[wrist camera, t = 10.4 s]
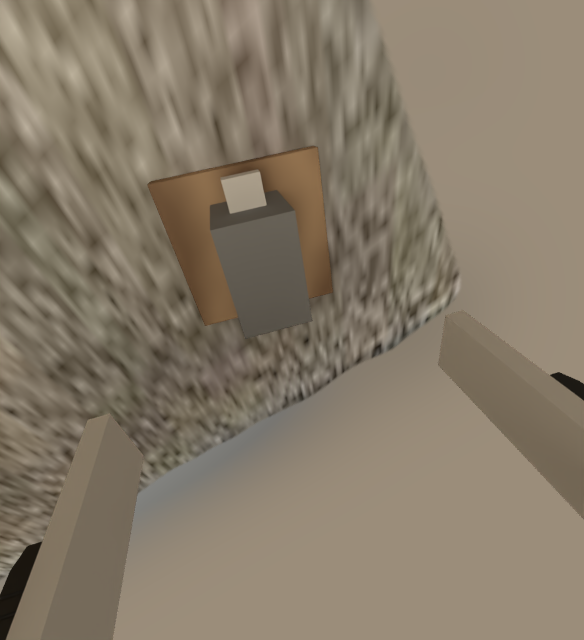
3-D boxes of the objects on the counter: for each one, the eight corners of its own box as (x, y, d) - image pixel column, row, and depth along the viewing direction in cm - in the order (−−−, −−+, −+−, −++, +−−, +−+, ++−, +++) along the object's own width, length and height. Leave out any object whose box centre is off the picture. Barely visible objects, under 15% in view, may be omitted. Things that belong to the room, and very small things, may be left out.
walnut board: (205, 318, 29) (205, 325, 28) (150, 181, 22) (147, 184, 21) (328, 286, 30) (332, 292, 29) (313, 145, 23) (317, 147, 22)
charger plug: (238, 298, 27) (245, 338, 22) (200, 175, 21) (197, 194, 17) (294, 284, 28) (312, 320, 23) (271, 160, 22) (289, 173, 17)
